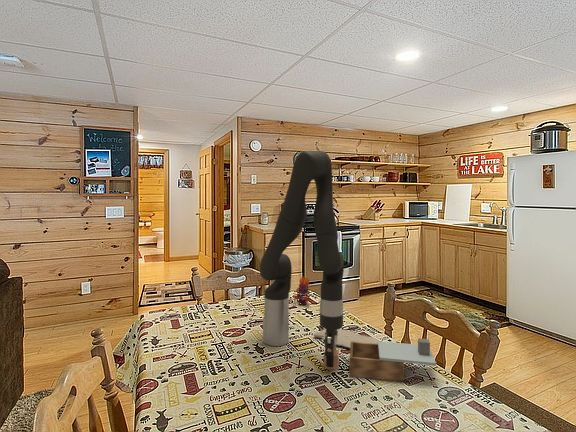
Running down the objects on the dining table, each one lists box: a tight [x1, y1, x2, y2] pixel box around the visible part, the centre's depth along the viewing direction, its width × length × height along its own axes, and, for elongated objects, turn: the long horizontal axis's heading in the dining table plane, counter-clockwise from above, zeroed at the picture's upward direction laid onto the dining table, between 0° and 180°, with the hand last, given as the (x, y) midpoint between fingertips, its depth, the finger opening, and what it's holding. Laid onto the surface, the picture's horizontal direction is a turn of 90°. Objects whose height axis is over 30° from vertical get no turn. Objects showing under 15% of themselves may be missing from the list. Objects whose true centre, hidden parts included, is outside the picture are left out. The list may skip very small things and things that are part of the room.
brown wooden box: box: [348, 342, 405, 383], centre depth 112 cm, size 16×12×6 cm
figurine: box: [291, 275, 311, 307], centre depth 175 cm, size 8×9×15 cm
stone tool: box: [313, 328, 380, 349], centre depth 132 cm, size 13×4×25 cm
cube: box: [323, 349, 340, 370], centre depth 115 cm, size 4×4×4 cm
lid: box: [378, 337, 437, 366], centre depth 109 cm, size 16×12×5 cm
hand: (331, 360), depth 114 cm, fingers open, 8 cm apart
